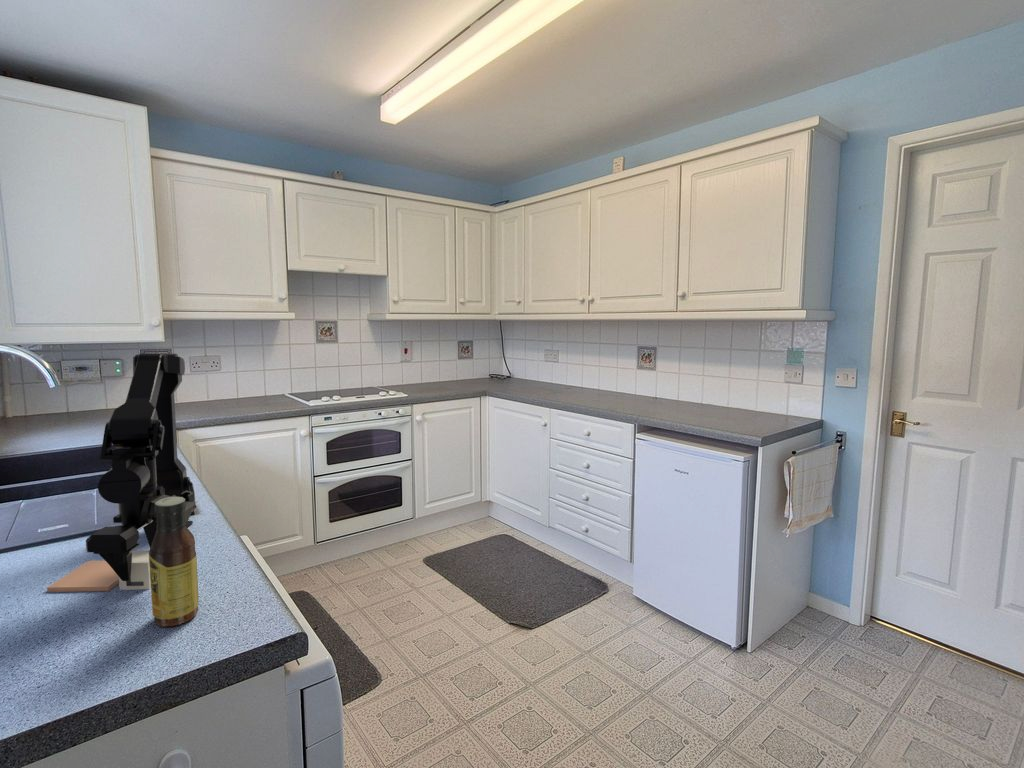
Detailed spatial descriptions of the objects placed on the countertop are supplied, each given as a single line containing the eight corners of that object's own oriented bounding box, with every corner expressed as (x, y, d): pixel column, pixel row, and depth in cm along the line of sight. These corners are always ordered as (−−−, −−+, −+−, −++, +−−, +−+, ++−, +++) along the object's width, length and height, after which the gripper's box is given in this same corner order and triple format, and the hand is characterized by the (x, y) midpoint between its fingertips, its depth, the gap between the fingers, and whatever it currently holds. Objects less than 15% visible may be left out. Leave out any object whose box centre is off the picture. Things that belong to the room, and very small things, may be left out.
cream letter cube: (137, 576, 97) (135, 550, 96) (165, 575, 97) (164, 550, 96) (119, 590, 92) (117, 563, 91) (149, 589, 92) (147, 563, 91)
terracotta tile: (88, 564, 100) (88, 560, 100) (143, 564, 101) (143, 560, 101) (47, 591, 90) (46, 587, 90) (108, 590, 91) (108, 586, 91)
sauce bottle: (158, 611, 85) (151, 494, 83) (201, 604, 88) (196, 490, 85) (148, 634, 79) (140, 509, 77) (195, 625, 82) (189, 504, 79)
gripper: (154, 503, 84) (159, 594, 86) (210, 469, 102) (214, 545, 104) (80, 503, 83) (87, 595, 85) (150, 469, 101) (155, 545, 103)
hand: (142, 567), depth 94 cm, fingers open, 9 cm apart
